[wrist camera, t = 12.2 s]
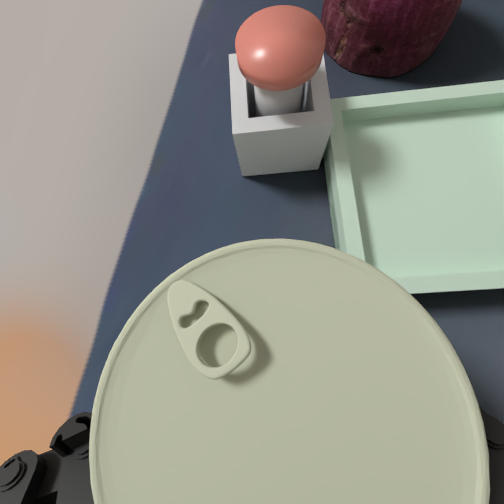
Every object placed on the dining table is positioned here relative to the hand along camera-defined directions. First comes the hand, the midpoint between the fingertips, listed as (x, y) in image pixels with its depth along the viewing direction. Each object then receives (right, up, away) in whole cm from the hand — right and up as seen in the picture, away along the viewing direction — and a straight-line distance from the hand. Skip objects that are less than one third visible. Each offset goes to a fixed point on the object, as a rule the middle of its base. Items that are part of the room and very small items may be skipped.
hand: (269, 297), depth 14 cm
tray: (+12, +7, +5) cm, 14 cm away
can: (+1, -4, +3) cm, 5 cm away
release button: (+1, +12, +5) cm, 13 cm away
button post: (+1, +12, +7) cm, 13 cm away
